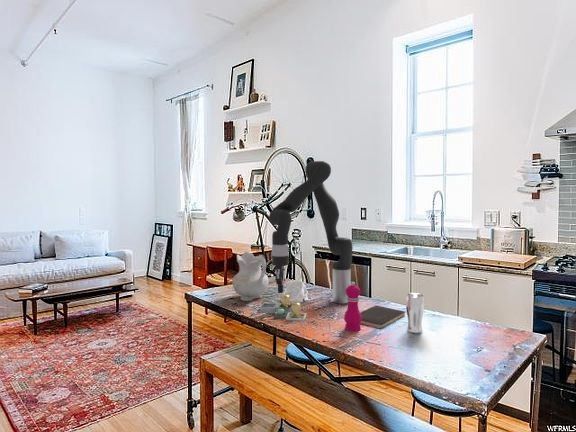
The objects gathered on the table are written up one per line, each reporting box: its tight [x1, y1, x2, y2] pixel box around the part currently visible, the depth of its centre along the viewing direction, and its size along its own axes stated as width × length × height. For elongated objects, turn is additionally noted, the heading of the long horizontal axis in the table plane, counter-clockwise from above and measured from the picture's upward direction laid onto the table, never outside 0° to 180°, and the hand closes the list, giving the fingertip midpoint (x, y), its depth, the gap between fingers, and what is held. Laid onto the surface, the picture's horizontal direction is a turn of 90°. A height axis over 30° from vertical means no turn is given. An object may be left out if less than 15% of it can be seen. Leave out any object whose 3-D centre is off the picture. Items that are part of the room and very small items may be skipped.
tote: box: [285, 312, 307, 322], centre depth 180 cm, size 8×8×2 cm
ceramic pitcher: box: [231, 251, 270, 302], centre depth 214 cm, size 22×20×25 cm
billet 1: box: [280, 293, 291, 308], centre depth 190 cm, size 4×4×7 cm
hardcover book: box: [359, 305, 406, 329], centre depth 182 cm, size 16×23×2 cm
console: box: [273, 312, 288, 320], centre depth 181 cm, size 5×5×2 cm
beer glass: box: [405, 292, 425, 334], centre depth 164 cm, size 7×7×15 cm
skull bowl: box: [283, 279, 309, 304], centre depth 208 cm, size 10×14×12 cm
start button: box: [278, 309, 284, 315], centre depth 181 cm, size 3×3×2 cm
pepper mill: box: [343, 281, 362, 332], centre depth 167 cm, size 7×7×20 cm
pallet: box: [258, 302, 292, 314], centre depth 191 cm, size 16×10×3 cm, turn 81°
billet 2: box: [291, 302, 302, 318], centre depth 180 cm, size 4×4×7 cm
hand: (280, 292), depth 180 cm, fingers closed
